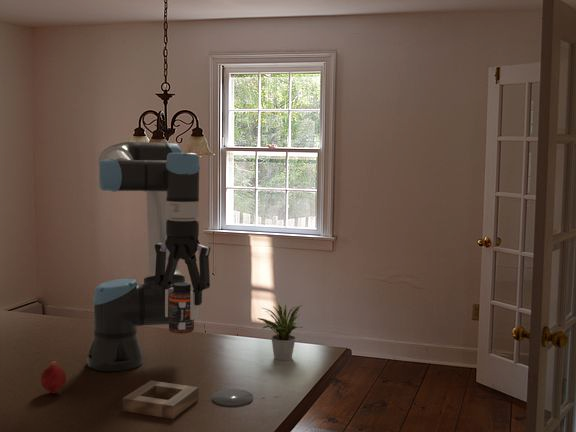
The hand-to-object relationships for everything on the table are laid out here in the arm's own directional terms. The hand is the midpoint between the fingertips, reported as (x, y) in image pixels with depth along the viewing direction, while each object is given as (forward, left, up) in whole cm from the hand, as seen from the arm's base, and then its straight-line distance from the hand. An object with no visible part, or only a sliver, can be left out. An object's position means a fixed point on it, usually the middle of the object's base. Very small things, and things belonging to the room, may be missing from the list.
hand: (181, 316), depth 160 cm
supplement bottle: (0, 0, -4) cm, 4 cm away
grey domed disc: (+10, +8, -21) cm, 25 cm away
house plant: (+11, +45, -21) cm, 51 cm away
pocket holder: (-4, -2, -21) cm, 22 cm away
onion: (-32, -5, -21) cm, 39 cm away
